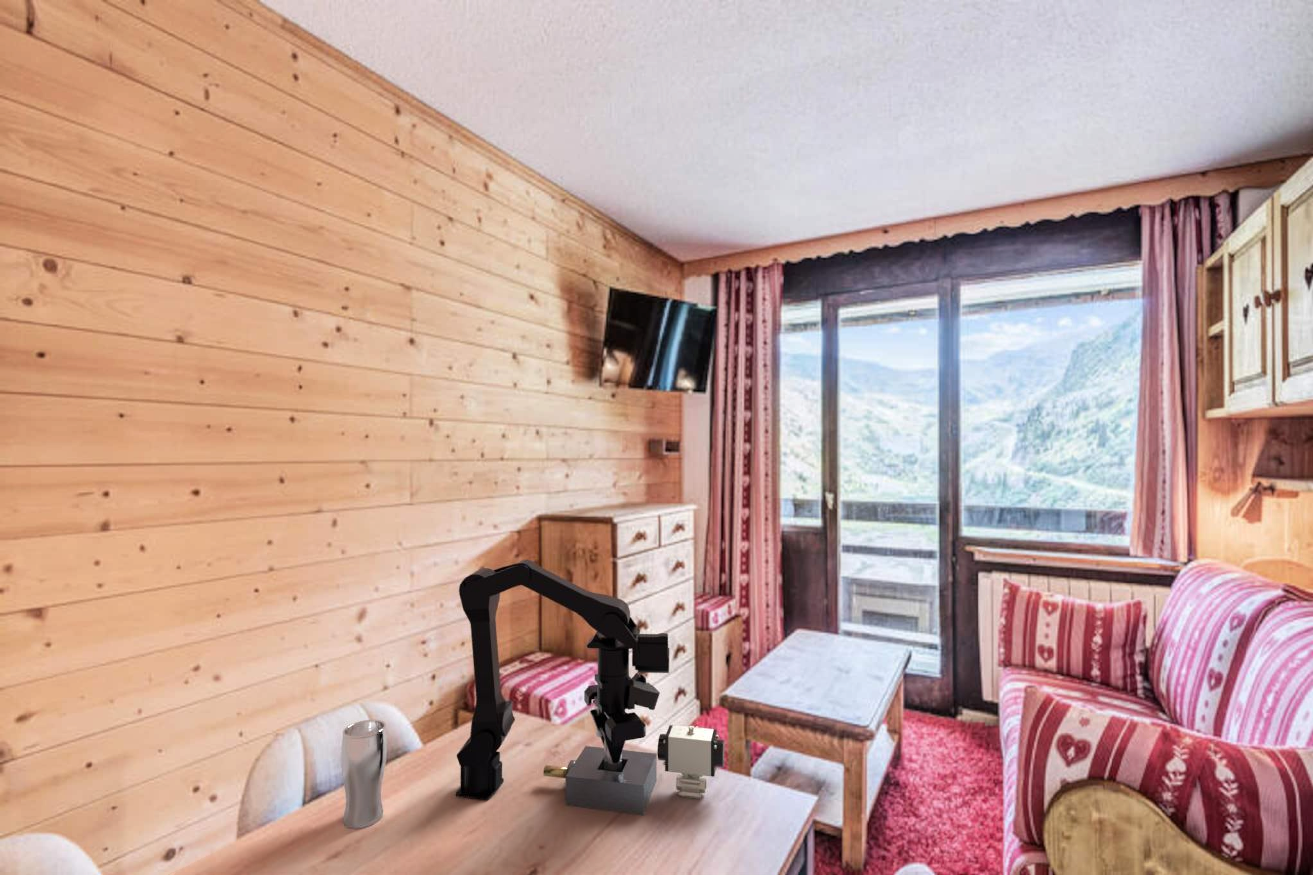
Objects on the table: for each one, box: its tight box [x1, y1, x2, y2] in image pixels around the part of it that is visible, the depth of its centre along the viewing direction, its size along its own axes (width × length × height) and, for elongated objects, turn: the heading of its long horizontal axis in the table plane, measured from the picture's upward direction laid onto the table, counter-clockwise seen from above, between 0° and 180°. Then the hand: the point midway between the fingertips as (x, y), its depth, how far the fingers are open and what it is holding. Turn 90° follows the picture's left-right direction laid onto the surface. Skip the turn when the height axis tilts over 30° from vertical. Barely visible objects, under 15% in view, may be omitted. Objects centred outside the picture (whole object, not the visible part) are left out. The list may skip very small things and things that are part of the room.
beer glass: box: [340, 719, 388, 830], centre depth 102 cm, size 7×7×15 cm
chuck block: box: [543, 745, 658, 816], centre depth 110 cm, size 20×11×5 cm, turn 78°
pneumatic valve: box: [656, 724, 726, 800], centre depth 110 cm, size 6×12×12 cm, turn 78°
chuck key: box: [595, 727, 622, 772], centre depth 109 cm, size 6×3×9 cm, turn 111°
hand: (612, 757), depth 109 cm, fingers closed on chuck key, 3 cm apart
